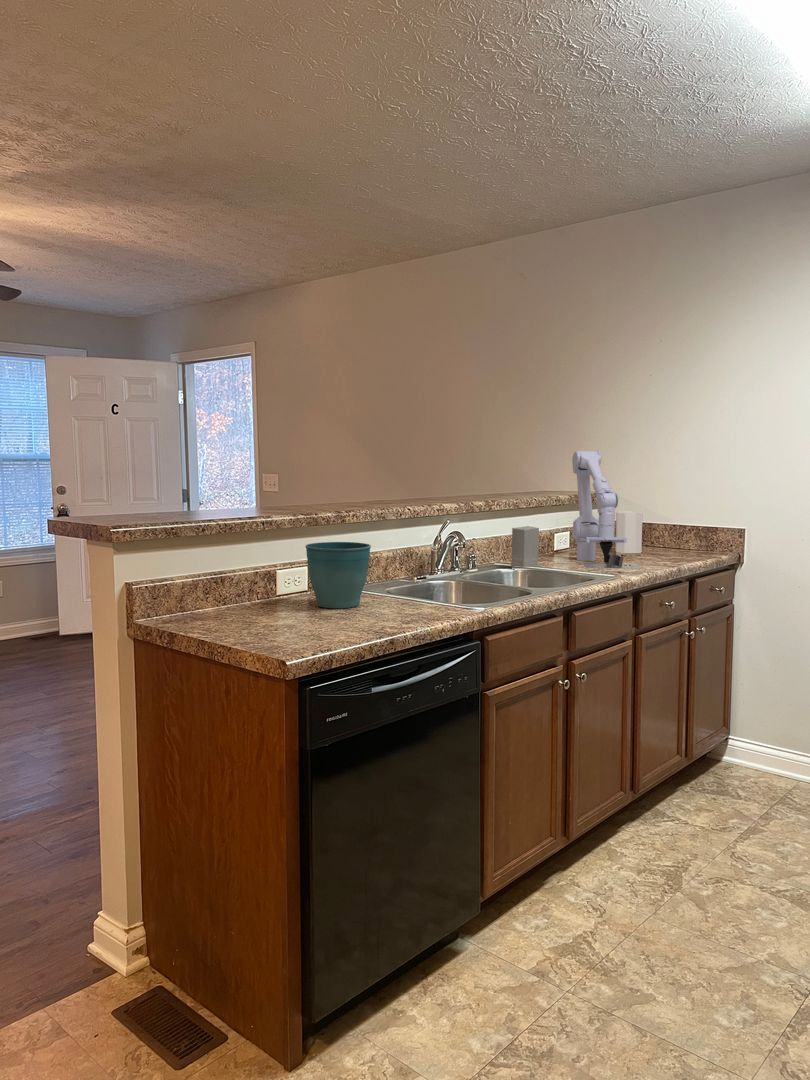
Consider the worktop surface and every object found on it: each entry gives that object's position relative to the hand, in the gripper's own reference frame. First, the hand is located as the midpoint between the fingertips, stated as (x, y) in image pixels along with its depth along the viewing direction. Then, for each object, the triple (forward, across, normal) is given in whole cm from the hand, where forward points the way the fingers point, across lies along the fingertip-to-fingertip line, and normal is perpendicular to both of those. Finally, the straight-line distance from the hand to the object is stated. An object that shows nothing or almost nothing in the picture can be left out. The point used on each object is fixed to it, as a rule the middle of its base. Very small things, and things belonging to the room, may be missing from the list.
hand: (605, 562), depth 297 cm
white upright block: (+2, +17, +50) cm, 52 cm away
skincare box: (+3, -30, -2) cm, 30 cm away
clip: (+1, +3, 0) cm, 3 cm away
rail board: (+3, +2, 0) cm, 4 cm away
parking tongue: (+3, -14, +5) cm, 15 cm away
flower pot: (+4, -85, -82) cm, 118 cm away
